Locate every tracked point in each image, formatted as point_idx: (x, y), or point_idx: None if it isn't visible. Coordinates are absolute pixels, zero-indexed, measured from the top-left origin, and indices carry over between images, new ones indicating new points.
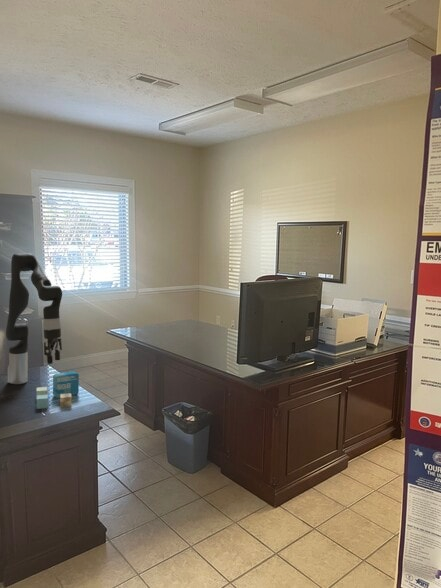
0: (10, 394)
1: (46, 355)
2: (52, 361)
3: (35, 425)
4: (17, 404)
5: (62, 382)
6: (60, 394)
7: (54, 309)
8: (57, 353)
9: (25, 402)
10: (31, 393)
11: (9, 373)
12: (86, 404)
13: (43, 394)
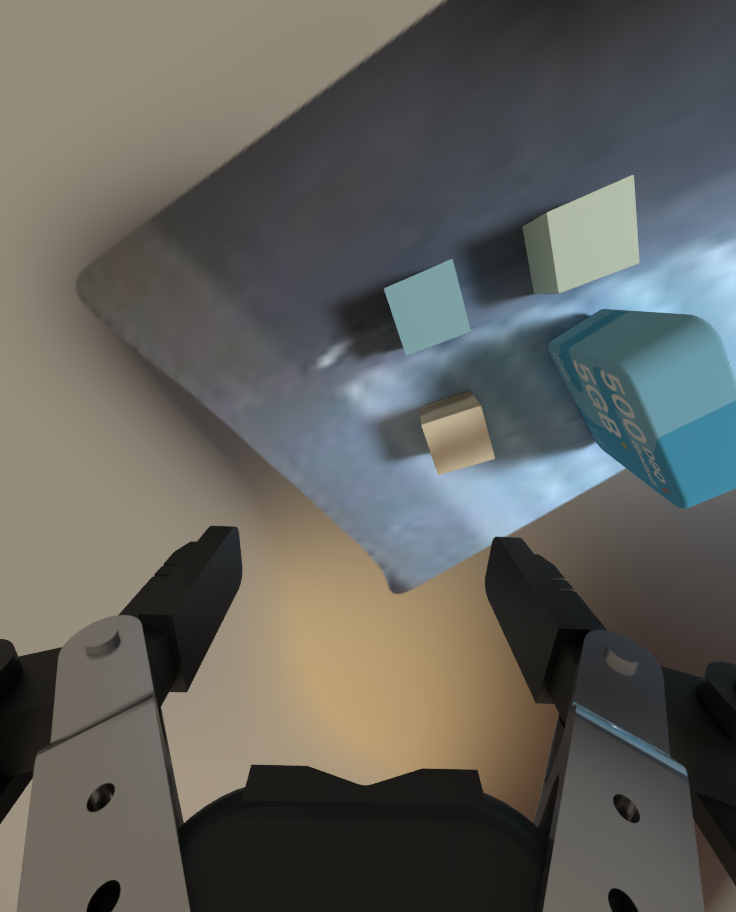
0: None
1: (90, 629)
2: (225, 601)
3: (206, 366)
4: (448, 114)
5: (608, 399)
6: (473, 409)
7: None
8: (537, 659)
9: (485, 160)
10: (674, 114)
11: None
12: (459, 507)
13: (543, 269)
